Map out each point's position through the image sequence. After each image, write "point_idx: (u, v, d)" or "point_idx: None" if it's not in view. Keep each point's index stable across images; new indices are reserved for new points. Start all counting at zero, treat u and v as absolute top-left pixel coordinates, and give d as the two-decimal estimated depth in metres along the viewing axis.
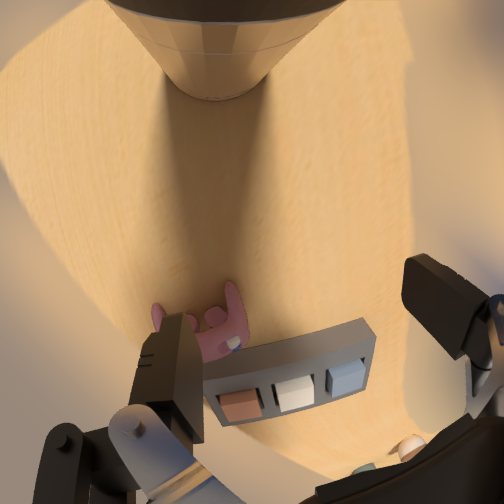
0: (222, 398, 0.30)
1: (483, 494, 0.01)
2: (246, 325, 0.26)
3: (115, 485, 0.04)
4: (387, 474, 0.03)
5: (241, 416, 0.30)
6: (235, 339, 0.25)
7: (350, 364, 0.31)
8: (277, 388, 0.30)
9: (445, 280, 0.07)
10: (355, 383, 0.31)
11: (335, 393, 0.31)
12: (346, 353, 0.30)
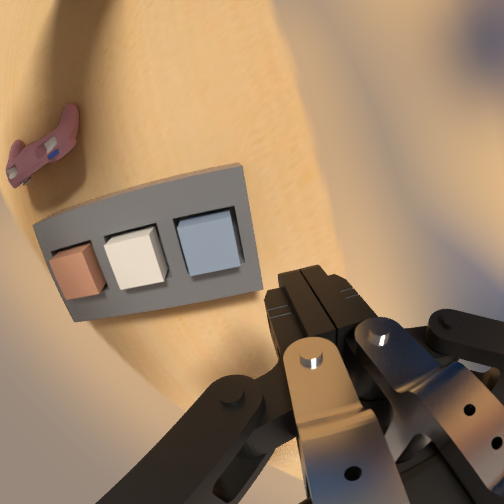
0: (55, 255, 0.22)
1: (483, 494, 0.01)
2: (68, 132, 0.18)
3: (276, 438, 0.05)
4: (387, 474, 0.03)
5: (74, 288, 0.22)
6: (50, 139, 0.17)
7: (211, 216, 0.23)
8: (109, 241, 0.22)
9: (320, 296, 0.08)
10: (223, 250, 0.23)
11: (193, 265, 0.23)
12: (196, 189, 0.22)
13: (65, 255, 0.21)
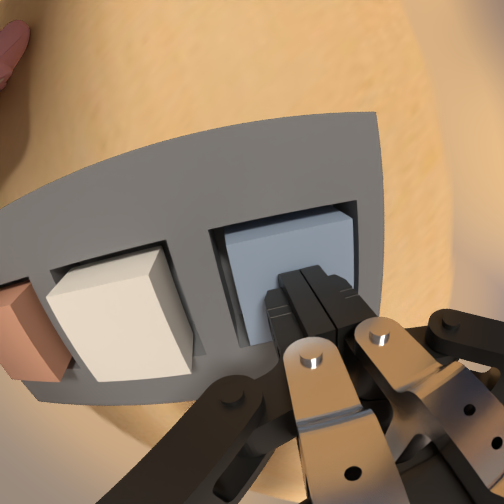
0: None
1: (483, 494, 0.01)
2: None
3: (276, 438, 0.05)
4: (387, 473, 0.03)
5: (18, 366, 0.09)
6: None
7: (298, 215, 0.10)
8: (59, 283, 0.09)
9: (320, 296, 0.08)
10: None
11: (258, 326, 0.10)
12: (275, 154, 0.08)
13: None
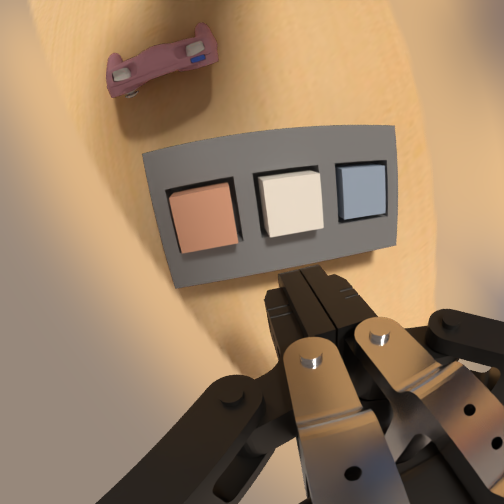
0: (175, 194, 0.20)
1: (483, 494, 0.01)
2: (214, 44, 0.17)
3: (276, 438, 0.05)
4: (387, 474, 0.03)
5: (202, 236, 0.21)
6: (197, 41, 0.15)
7: (362, 164, 0.23)
8: (262, 178, 0.21)
9: (320, 296, 0.08)
10: (375, 196, 0.22)
11: (349, 208, 0.23)
12: (359, 138, 0.21)
13: (198, 191, 0.20)
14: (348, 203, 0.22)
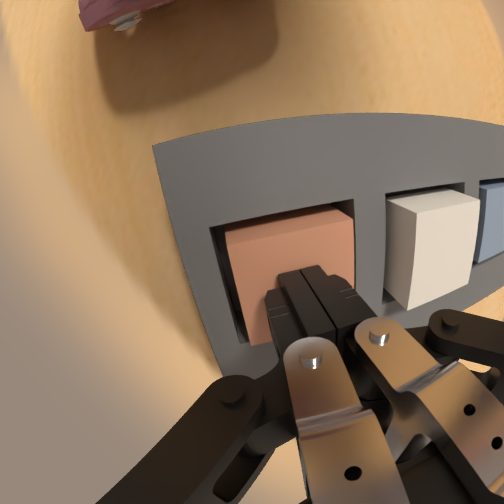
0: (233, 232, 0.10)
1: (483, 494, 0.01)
2: None
3: (276, 438, 0.05)
4: (387, 474, 0.03)
5: None
6: None
7: (491, 180, 0.12)
8: (404, 205, 0.10)
9: (320, 296, 0.08)
10: None
11: (484, 247, 0.12)
12: (499, 144, 0.09)
13: (290, 229, 0.09)
14: (485, 240, 0.11)
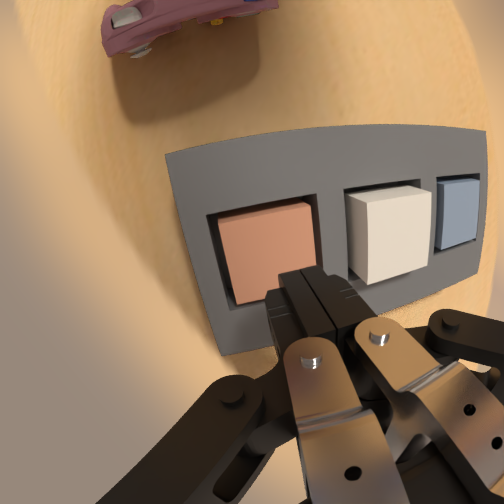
0: (224, 216, 0.14)
1: (483, 494, 0.01)
2: None
3: (276, 438, 0.05)
4: (387, 474, 0.03)
5: (268, 279, 0.14)
6: None
7: (454, 177, 0.15)
8: (359, 198, 0.13)
9: (320, 296, 0.08)
10: (470, 218, 0.15)
11: (446, 235, 0.15)
12: (458, 145, 0.13)
13: (263, 213, 0.13)
14: (446, 229, 0.15)
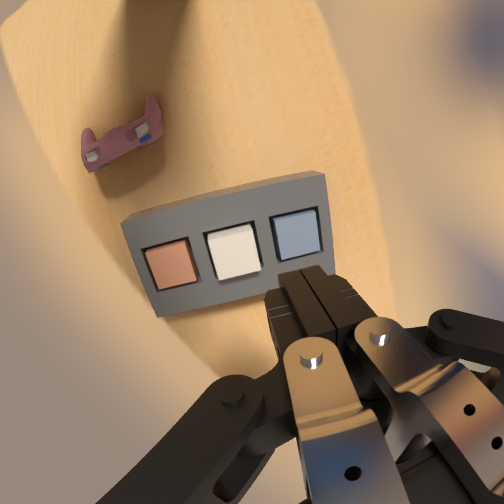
0: (150, 248, 0.28)
1: (483, 494, 0.01)
2: (158, 119, 0.23)
3: (276, 438, 0.05)
4: (387, 474, 0.03)
5: (171, 277, 0.29)
6: (142, 124, 0.22)
7: (297, 211, 0.29)
8: (209, 237, 0.27)
9: (320, 296, 0.08)
10: (308, 238, 0.29)
11: (284, 251, 0.29)
12: (289, 192, 0.27)
13: (164, 247, 0.28)
14: (283, 247, 0.29)
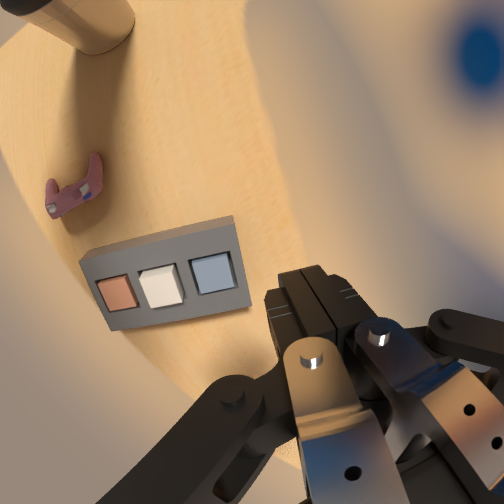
0: (102, 279, 0.34)
1: (483, 494, 0.01)
2: (97, 178, 0.28)
3: (276, 438, 0.05)
4: (387, 474, 0.03)
5: (117, 303, 0.34)
6: (83, 185, 0.27)
7: (214, 254, 0.35)
8: (142, 275, 0.33)
9: (320, 296, 0.08)
10: (222, 277, 0.35)
11: (202, 287, 0.35)
12: (203, 240, 0.33)
13: (111, 280, 0.33)
14: (201, 284, 0.35)
